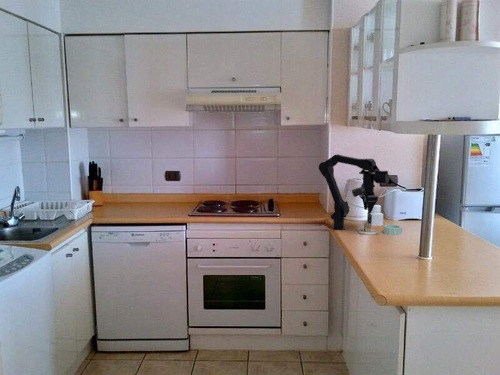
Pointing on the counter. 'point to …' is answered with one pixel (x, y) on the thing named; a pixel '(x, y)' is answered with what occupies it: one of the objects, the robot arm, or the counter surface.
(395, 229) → the bowl
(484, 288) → the counter surface
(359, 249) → the counter surface
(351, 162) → the robot arm
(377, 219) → the medicine bottle
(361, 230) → the lid
